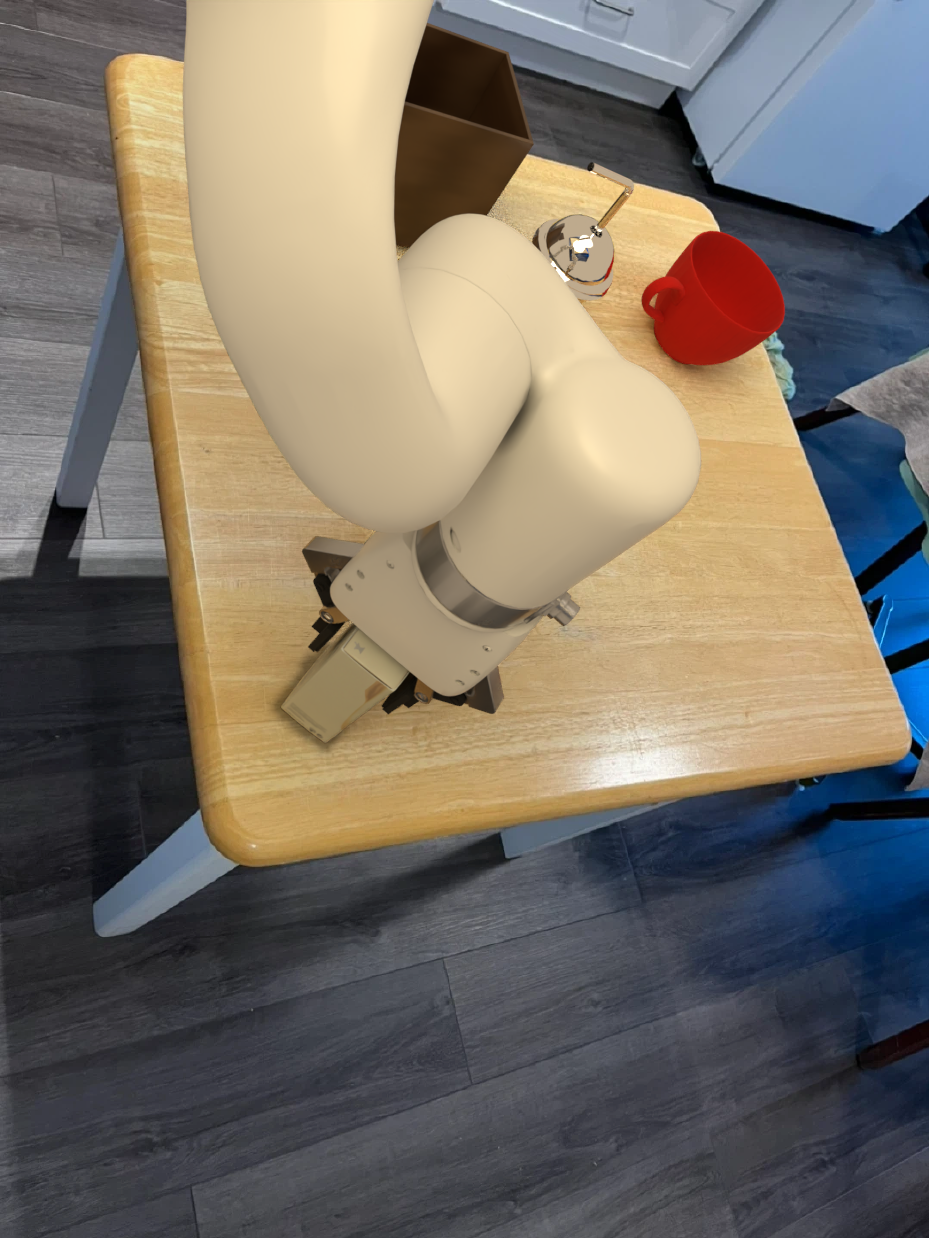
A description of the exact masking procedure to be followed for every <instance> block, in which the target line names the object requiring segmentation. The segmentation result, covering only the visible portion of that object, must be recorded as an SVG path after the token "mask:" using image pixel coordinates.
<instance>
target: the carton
mask: <svg viewBox="0 0 929 1238" xmlns="http://www.w3.org/2000/svg"><path fill="white" fill-rule="evenodd" d="M534 144H535V143H534V140H533V136H532V131H531V128H530V125H529V121H528V117H527V114H526V110H525V107H524V103H523V99H522V96H521V91H520V88H519V85H518V81H517V78H516V74H515V71H514V66H513V63H512V60H511V56H510V53H509V51H507V50H504V49H501V48H498V47H495V46H493V45H490V44H488V43H485V42H482V41H479V40H476V39H474V38H471V37H468V36H466V35H463V34H459V33H457V32H454V31H451V30H448V29H446V28H443V27H440V26H438V25H435V24H432V23H430V22H427V24H426V27H425V30H424V34H423V37H422V40H421V43H420V46H419V50H418V53H417V56H416V59H415V62H414V65H413V70H412V74H411V78H410V82H409V86H408V90H407V94H406V98H405V102H404V108H403V114H402V119H401V125H400V131H399V136H398V147H397V157H396V168H395V184H394V225H395V239H396V246H399V247H404V248H407V249H409V248H410V247H411V246H412V245H413V244H414V242H415V241H416V240H417V239H418V238H419V237H420V236H421V235H422V234H423V233H425V232H426V231H427V230H428V229H429V228H431V227H432V226H434V225H435V224H436V223H438V222H440V221H442V220H444V219H446V218H449V217H452V216H455V215H461V214H481V215H485V216H489V213H490V212H491V210H492V209H493V207H494V206H495V204H496V202H497V201H498V200H499V198H500V197H501V195H502V194H503V192H504V191H505V189H506V188H507V186H508V185H509V183H510V181H511V180H512V178H513V177H514V175H515V174H516V172H517V171H518V169H519V168H520V166H521V165H522V163H523V162H524V160H525V158H526V157H527V156H528V155H529V153H530V152H531V150H532V149H533V146H534Z"/></svg>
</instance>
